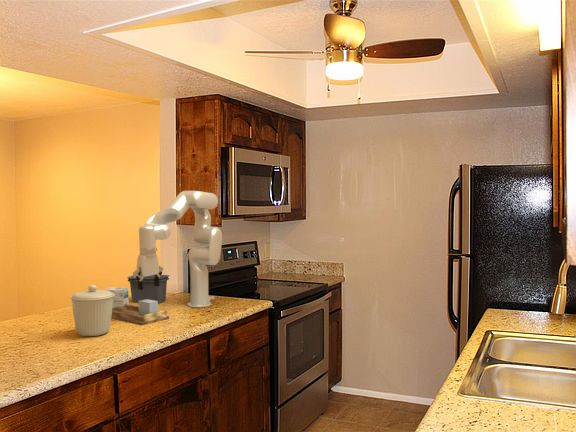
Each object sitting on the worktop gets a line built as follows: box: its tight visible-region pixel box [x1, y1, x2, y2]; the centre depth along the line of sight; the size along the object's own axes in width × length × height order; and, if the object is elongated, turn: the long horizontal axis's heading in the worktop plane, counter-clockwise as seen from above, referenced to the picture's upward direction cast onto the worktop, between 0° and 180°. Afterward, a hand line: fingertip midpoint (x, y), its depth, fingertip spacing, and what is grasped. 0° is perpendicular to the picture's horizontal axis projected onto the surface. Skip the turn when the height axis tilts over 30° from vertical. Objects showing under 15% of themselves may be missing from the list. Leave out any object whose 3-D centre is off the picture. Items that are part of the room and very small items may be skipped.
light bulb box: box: [103, 287, 130, 308], centre depth 284 cm, size 11×7×11 cm, turn 84°
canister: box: [69, 284, 115, 337], centre depth 233 cm, size 18×18×21 cm
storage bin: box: [126, 274, 170, 304], centre depth 303 cm, size 21×16×14 cm
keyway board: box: [111, 304, 170, 326], centre depth 264 cm, size 16×30×4 cm, turn 54°
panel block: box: [137, 299, 159, 316], centre depth 258 cm, size 5×8×8 cm, turn 53°
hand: (148, 287), depth 258 cm, fingers open, 9 cm apart
